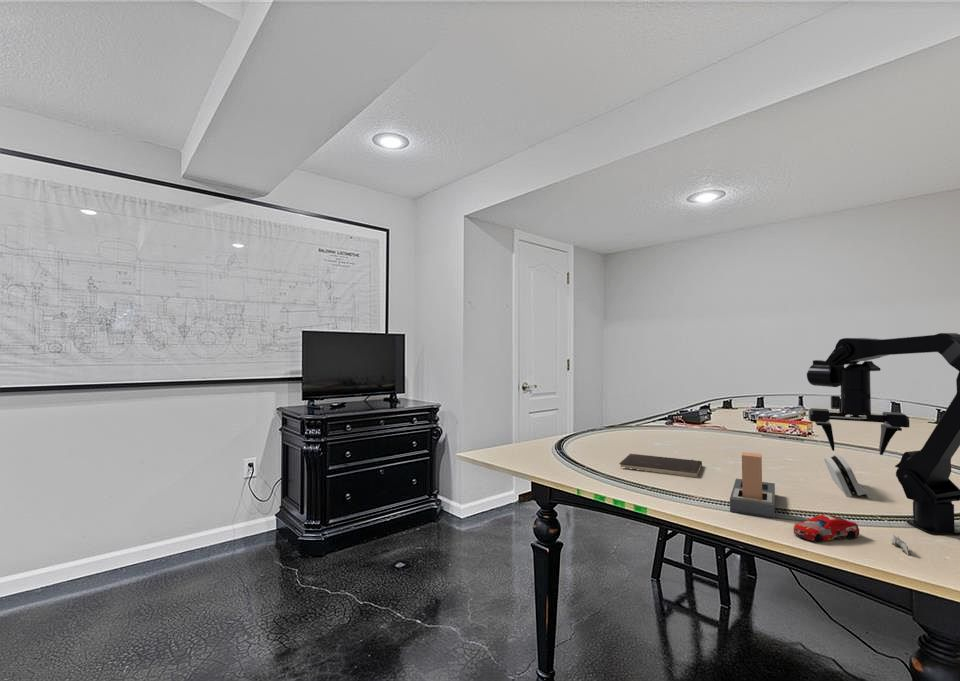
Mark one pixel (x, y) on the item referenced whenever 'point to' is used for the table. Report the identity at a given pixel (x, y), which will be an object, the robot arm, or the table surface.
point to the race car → (826, 528)
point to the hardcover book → (662, 464)
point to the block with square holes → (753, 501)
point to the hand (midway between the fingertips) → (856, 452)
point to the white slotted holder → (844, 476)
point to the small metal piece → (900, 544)
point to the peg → (752, 475)
